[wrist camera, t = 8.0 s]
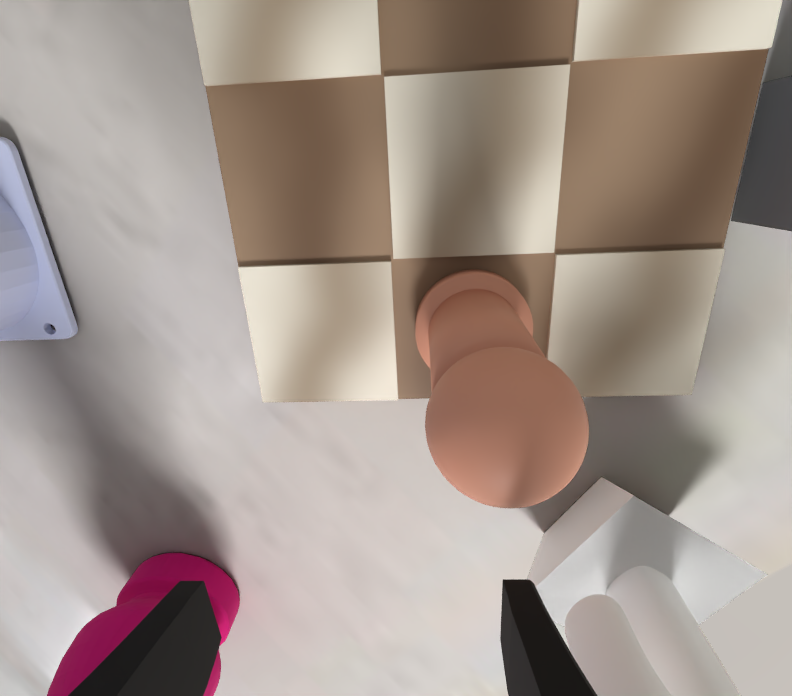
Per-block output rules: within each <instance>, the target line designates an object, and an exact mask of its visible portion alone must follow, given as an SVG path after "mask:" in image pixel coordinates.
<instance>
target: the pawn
mask: <svg viewBox="0 0 792 696" xmlns="http://www.w3.org/2000/svg"><path fill="white" fill-rule="evenodd" d="M415 336H416V343H417V347H418V350H419V353H420V355H421V357H422V358H423V360H424V362H425V363H426V364H427V366H428V367H429V368H430V372H431V391H432V394H431V396H430V399H429V402H428V406H427V411H426V420H425V429H426V438H427V443H428V447H429V450H430V453H431V455H432V457H433V460H434V462H435V464H436V465H437V467H438V468H439V470H440V472H441V473H442V475H443V476H444V477H445V478H446V479H447V480H448V481H449V482H450V483H451V484H452V485H453V486H454V487H455V488H456V489H457V490H458V491H460V492H461V493H463V494H464V495H466V496H468V497H470V498H471V499H473V500H475V501H477V502H480V503H482V504H485V505H489V506H493V507H500V508H522V507H528V506H532V505H535V504H538V503H541V502H543V501H545V500H547V499H549V498H551V497H552V496H554V495H555V494H557V493H559V492H560V491H561V490H562V489H563V488H565V487H566V486H567V485H568V484H569V482H570V481H571V480H572V479H573V477H574V476H575V475H576V473H577V472H578V470H579V468H580V466H581V464H582V462H583V460H584V457H585V454H586V450H587V446H588V440H589V423H588V416H587V412H586V408H585V405H584V402H583V399H582V397H581V395H580V393H579V391H578V389H577V388H576V386H575V385H574V383H573V382H572V380H571V379H570V378H569V377H568V376H567V375H566V374H565V373H564V372H563V371H562V369H560V368H559V367H558V366H557V365H555V364H554V363H553V362H551V361H549V360H548V359H547V358H546V357H545V355H544V354H543V352H542V351H541V349H540V348H539V346H538V345H537V343H536V342H535V340H534V339H533V337H532V336H533V319H532V314H531V311H530V308H529V306H528V304H527V302H526V301H525V299H524V298H523V296H522V295H521V294H520V292H519V291H518V290H517V289H516V288H515V287H514V285H513V284H512V283H510V282H509V281H508V280H507V279H505V278H504V277H502V276H500V275H498V274H496V273H493V272H490V271H486V270H480V269H469V270H462V271H458V272H455V273H452V274H449V275H447V276H445V277H444V278H442V279H440V280H439V281H438V282H436V283H435V284H434V285H433V286H432V287H431V288H430V289H429V290H428V291H427V293H426V294H425V295H424V297H423V299H422V300H421V303H420V305H419V307H418V311H417V315H416V329H415Z"/></svg>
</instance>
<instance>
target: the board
mask: <svg viewBox="0 0 792 696" xmlns="http://www.w3.org/2000/svg"><path fill="white" fill-rule="evenodd" d="M782 1H783V0H189V6H190V11H191V16H192V22H193V27H194V33H195V38H196V43H197V49H198V54H199V60H200V65H201V71H202V76H203V81H204V85H205V87H206V92H207V97H208V103H209V108H210V114H211V119H212V125H213V130H214V136H215V141H216V146H217V152H218V157H219V163H220V168H221V174H222V179H223V184H224V190H225V195H226V201H227V206H228V212H229V217H230V223H231V228H232V233H233V239H234V244H235V250H236V255H237V261H238V266H239V267H238V271H239V276H240V282H241V287H242V293H243V298H244V304H245V309H246V314H247V320H248V325H249V331H250V336H251V341H252V347H253V352H254V358H255V363H256V369H257V374H258V379H259V385H260V390H261V396H262V401H263V402H318V401H375V400H398V399H419V398H430V396H431V394H432V391H431V372H430V368H429V367H428V366H427V364H426V363H425V362H424V360H423V358H422V357H421V355H420V353H419V350H418V347H417V343H416V336H415V329H416V315H417V311H418V307H419V305H420V303H421V300H422V299H423V297H424V295H425V294H426V293H427V291H428V290H429V289H430V288H431V287H432V286H433V285H434V284H435V283H436V282H438V281H439V280H440V279H442V278H444V277H445V276H447V275H449V274H452V273H455V272H458V271H462V270H469V269H480V270H486V271H490V272H493V273H496V274H498V275H500V276H502V277H504V278H505V279H507V280H508V281H509V282H510V283H512V284H513V285H514V287H515V288H516V289H517V290H518V291H519V292H520V294H521V295H522V296H523V298H524V299H525V301H526V302H527V304H528V306H529V308H530V311H531V314H532V319H533V336H532V337H533V339H534V340H535V342H536V343H537V345H538V346H539V348H540V349H541V351H542V352H543V354H544V355H545V357H546V358H547V359H548V360H549V361H551V362H553V363H554V364H555V365H557V366H558V367H559V368H560V369H562V371H563V372H564V373H565V374H566V375H567V376H568V377H569V378H570V379H571V380H572V382H573V383H574V385H575V386H576V388H577V389H578V391H579V393H580V395H581V397H603V396H660V395H692V391H693V387H694V383H695V378H696V374H697V370H698V365H699V361H700V357H701V352H702V348H703V344H704V339H705V335H706V331H707V326H708V322H709V318H710V313H711V309H712V305H713V300H714V296H715V291H716V287H717V283H718V278H719V274H720V270H721V265H722V261H723V257H724V252H725V249H724V248H723V247H724V242H725V238H726V234H727V229H728V225H729V220H730V216H731V212H732V207H733V203H734V199H735V194H736V190H737V185H738V181H739V177H740V172H741V168H742V163H743V159H744V155H745V150H746V146H747V142H748V137H749V133H750V128H751V124H752V120H753V115H754V111H755V107H756V102H757V98H758V93H759V89H760V85H761V80H762V76H763V71H764V67H765V63H766V58H767V54H768V50H769V48H771V47H772V44H773V40H774V35H775V31H776V27H777V22H778V18H779V14H780V9H781V5H782Z"/></svg>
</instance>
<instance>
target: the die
mask: <svg viewBox="0 0 792 696" xmlns="http://www.w3.org/2000/svg"><path fill="white" fill-rule="evenodd" d="M731 221H735V222H741V223H747V224H753V225H759V226H764V227H770V228H776V229H782V230H788V231H792V76H789V77H785V78H781V79H777V80H773V81H769V82H765V83H763V86H762V90H761V94H760V99H759V103H758V107H757V111H756V116H755V120H754V124H753V129H752V133H751V137H750V142H749V146H748V150H747V155H746V159H745V163H744V168H743V172H742V176H741V181H740V185H739V189H738V194H737V198H736V202H735V207H734V211H733V215H732V220H731Z"/></svg>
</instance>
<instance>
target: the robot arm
mask: <svg viewBox="0 0 792 696" xmlns="http://www.w3.org/2000/svg"><path fill="white" fill-rule="evenodd" d="M51 324H52V325H53V326H54V327H55V330H56V331H55V330H53V329H52V327H51ZM77 331H78V327H77V323H76V320H75V317H74V314H73V312H72V309H71V306H70V303H69V300H68V297H67V294H66V291H65V288H64V285H63V282H62V279H61V276H60V273H59V270H58V267H57V264H56V261H55V258H54V256H53V253H52V250H51V247H50V244H49V241H48V238H47V235H46V232H45V229H44V226H43V223H42V220H41V217H40V214H39V211H38V208H37V205H36V203H35V200H34V197H33V194H32V191H31V188H30V185H29V182H28V179H27V176H26V173H25V170H24V167H23V164H22V161H21V158H20V155H19V152H18V150H17V148H16V146H15V145H14V143H13V142H12V141H11V140H9V139H7V138H5V137H0V341H14V340H49V339H67V338H70V337H72V336H74V335H75V334H76V333H77ZM221 639H222V637H221V634H220V630H219V627H218V624H217V621H216V618H215V614H214V611H213V608H212V605H211V602H210V598H209V595H208V592H207V589H206V586H205V582H204V581H179V582H178V583H177V584H176V585H175V586H174V587H173V589H172V590H171V591H170V592H169V593H168V594H167V595H166V596H165V597H164V598H163V599H162V600H161V601H160V602H159V603H158V604H157V605H156V606H155V607H154V608H153V609H152V610H151V611H150V612H149V613H148V615H147V616H146V617H145V618H144V619H143V620H142V621H141V622H140V623H139V624H138V625H137V626H136V627H135V628H134V629H133V630H132V631H131V632H130V633H129V634H128V636H127V637H126V638H125V639H124V640H123V641H122V642H121V643H120V644H119V645H118V646H117V647H116V648H115V649H114V650H113V651H112V652H111V653H110V654H109V655H108V656H107V657H106V658H105V659H104V660H103V661H102V662H101V663H100V664H99V665H98V666H97V667H96V668H95V669H94V670H93V671H92V672H91V673H90V674H89V675H88V676H87V677H86V678H85V679H84V680H83V681H82V682H81V683H80V684H79V685H78V686H77V687H76V688H75V689H74V690H73V691H72V692H71V693H70V694H69V695H68V696H203V695H204V693H205V690H206V688H207V685H208V682H209V678H210V675H211V672H212V669H213V666H214V663H215V659H216V656H217V652H218V649H219V645H220V642H221ZM501 647H502V654H503V662H504V669H505V676H506V683H507V690H508V695H509V696H597V694H596V693H595V691H594V689H593V688H592V686H591V685H590V683H589V681H588V680H587V678H586V677H585V675H584V673H583V672H582V670H581V668H580V667H579V665H578V664H577V662H576V660H575V659H574V657H573V655H572V654H571V652H570V650H569V649H568V647H567V645H566V644H565V642H564V640H563V638H562V637H561V635H560V633H559V631H558V629H557V628H556V626H555V624H554V622H553V620H552V619H551V617H550V615H549V613H548V611H547V609H546V607H545V605H544V603H543V601H542V599H541V597H540V595H539V593H538V591H537V589H536V587H535V584H534V583H533V582H532V581H531V580H503V588H502V614H501Z"/></svg>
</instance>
